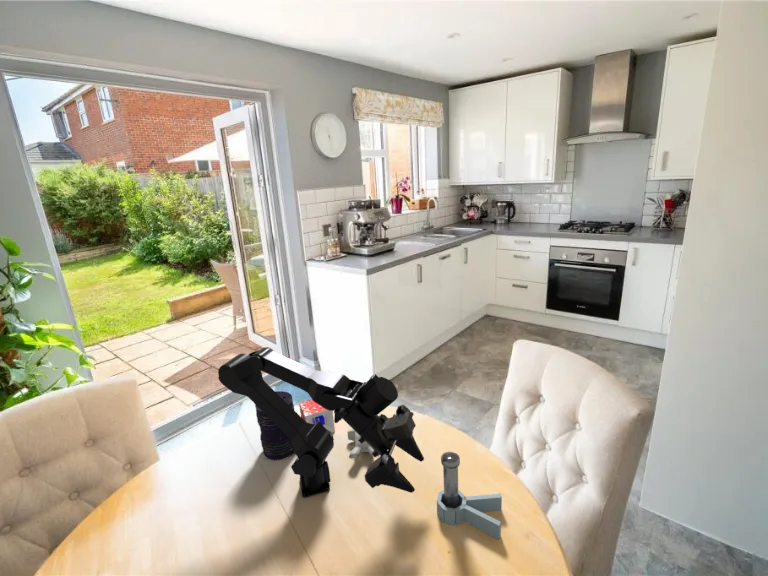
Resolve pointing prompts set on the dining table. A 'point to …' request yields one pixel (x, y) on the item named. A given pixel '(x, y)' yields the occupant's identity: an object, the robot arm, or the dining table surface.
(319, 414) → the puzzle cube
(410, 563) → the dining table surface
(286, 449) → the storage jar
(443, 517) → the grey ring with prongs
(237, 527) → the dining table surface
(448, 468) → the hinge pin
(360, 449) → the grey figurine
